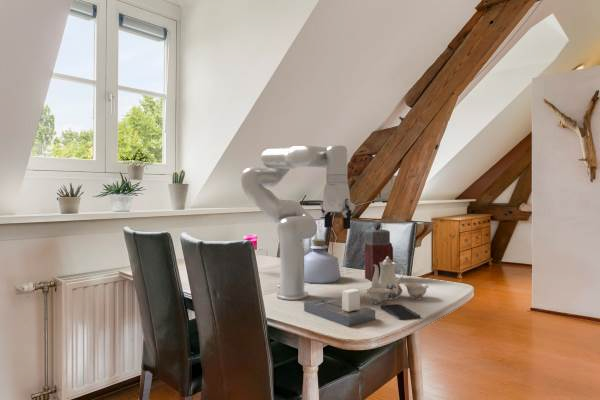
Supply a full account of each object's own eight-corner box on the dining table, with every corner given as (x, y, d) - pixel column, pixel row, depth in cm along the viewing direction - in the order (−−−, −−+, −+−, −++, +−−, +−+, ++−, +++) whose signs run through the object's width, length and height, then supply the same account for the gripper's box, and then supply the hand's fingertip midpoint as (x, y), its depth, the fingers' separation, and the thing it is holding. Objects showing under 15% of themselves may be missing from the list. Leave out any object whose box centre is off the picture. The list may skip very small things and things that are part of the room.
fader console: (304, 311, 143) (304, 302, 143) (330, 305, 150) (329, 296, 150) (348, 327, 126) (348, 317, 126) (375, 319, 133) (375, 310, 133)
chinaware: (377, 313, 145) (380, 267, 143) (349, 298, 160) (351, 256, 158) (433, 302, 159) (437, 260, 157) (403, 289, 173) (406, 251, 172)
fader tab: (342, 309, 133) (342, 291, 133) (353, 306, 136) (353, 288, 136) (348, 311, 131) (348, 292, 130) (359, 308, 134) (359, 290, 134)
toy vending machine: (394, 280, 192) (394, 220, 191) (372, 282, 189) (372, 220, 189) (386, 276, 200) (386, 219, 200) (364, 278, 198) (364, 219, 197)
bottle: (341, 276, 204) (341, 237, 203) (338, 284, 184) (338, 242, 184) (302, 274, 207) (301, 237, 207) (294, 283, 188) (294, 242, 187)
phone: (399, 304, 149) (421, 316, 134) (399, 307, 149) (421, 319, 134) (379, 305, 147) (399, 318, 132) (379, 308, 147) (399, 321, 132)
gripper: (313, 180, 153) (313, 227, 153) (346, 179, 139) (346, 230, 139) (328, 181, 157) (329, 226, 157) (361, 179, 143) (362, 229, 144)
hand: (337, 228), depth 148 cm, fingers open, 9 cm apart
